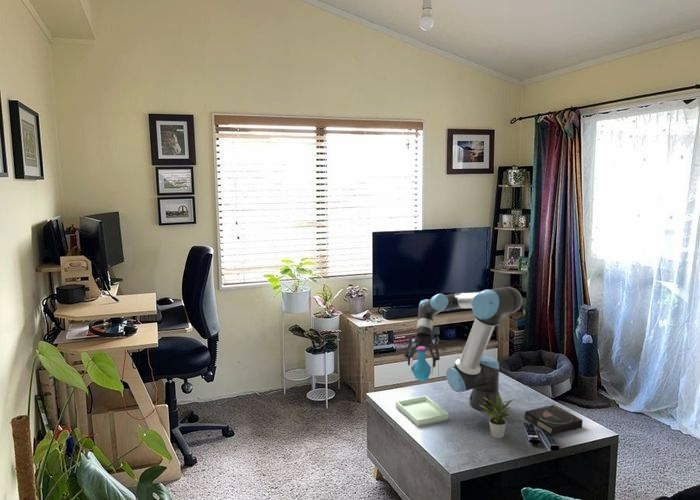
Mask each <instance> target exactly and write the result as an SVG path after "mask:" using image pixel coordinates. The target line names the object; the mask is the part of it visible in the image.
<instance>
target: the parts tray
mask: <svg viewBox="0 0 700 500" xmlns="http://www.w3.org/2000/svg"><path fill="white" fill-rule="evenodd" d="M395 408H396V409H397V410H398V411H399V412H400V413H402V414H403V416H405V417H406V418H407V419H408V420H409V421H410V422H411V423H413V424H414V425H415V426H416V427H417V428H418V427H422V426H423V427H424V426H427V425H432V424H437V423H441V422H444V421H445V422H446V421H450V413H449V412H448V411H446V410H445V409H444V408H443V407H441V406H440V405H438V404H437V403H436V402H434V401H433V400H432V399H430V398H429V397H428V396H427V395H421V396H416V397H412V398H406V399H401V400H397V401H395Z"/></svg>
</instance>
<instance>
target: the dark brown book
mask: <svg viewBox="0 0 700 500" xmlns="http://www.w3.org/2000/svg"><path fill="white" fill-rule="evenodd" d="M524 419H525V420H526V421H527V422H529V423H531V424H533V425H534V426H535V427H537V428H539V429H541V428H542V429H544V430H545V431H547V432H548V433H550V434H551V435H550V434H549V435H550V436H554V435H558V434H563V433H566V432H570V431H575V430H578V429H583V419H582V418H580V417H578V416H576V415H574V414H572V413H570V412H569V411H567V410H565V409H563V408H562V407H559V406H558V405H556V404H551V405H546V406H543V407H538V408H534V409H529V410H525V414H524ZM542 429H541V430H542ZM544 430H543V431H544ZM545 431H544V432H545ZM547 432H546V433H547ZM548 433H547V434H548Z"/></svg>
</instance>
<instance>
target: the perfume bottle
mask: <svg viewBox="0 0 700 500" xmlns="http://www.w3.org/2000/svg"><path fill="white" fill-rule="evenodd" d="M426 351H427V348H425V347H424V346H419V347H417V351H416V352H417V360H416V361H415V363H414V364H412V373H413V376H414V380H415V379H416V381H427V380H429V378H430V375H431V373H430V370H431V364H429V363H428V362H427V360H426Z"/></svg>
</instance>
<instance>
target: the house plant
mask: <svg viewBox="0 0 700 500" xmlns="http://www.w3.org/2000/svg"><path fill="white" fill-rule="evenodd" d="M483 398H484V397H483ZM485 399H487V398H485ZM487 400H488V402H489V403H490V404H492V405H491V406H493V407H492V408H493V410H494V411H493V410H492V411H490V410H488V409H487V408H485V407H484V406H481V405H480V406H481V407H482V408H483V409H484V410H485V411H483V412H481V413H482V414H488V415H490V418H489V419H488V424H489V429H490V431H489V432H490V435H491V436H492V437H493V438H496V439H501V438H503V437H504V436H505V430H506V428H507V427H506V426H507V420H506V419H504V418H508V419H510V418H511V417H510V414H511V412H510V411H509V410H507V407H508V406H509V405H510V404H511V403H512V401H515V400H516V398H515V399H510V400H505V401H504V402H503V399H502V398H501V402H500V404H499V397H498V395H497V400H496V405H497V407H496V405H495V404H494V405H495V406H494V405H493V403H494V402H493V401H492V402H493V403H492V402H491V401H490V400H489V399H487ZM484 404H486V403H484ZM504 404H505V405H504ZM486 405H487V404H486ZM495 407H496V408H495ZM509 413H510V414H509Z"/></svg>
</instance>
